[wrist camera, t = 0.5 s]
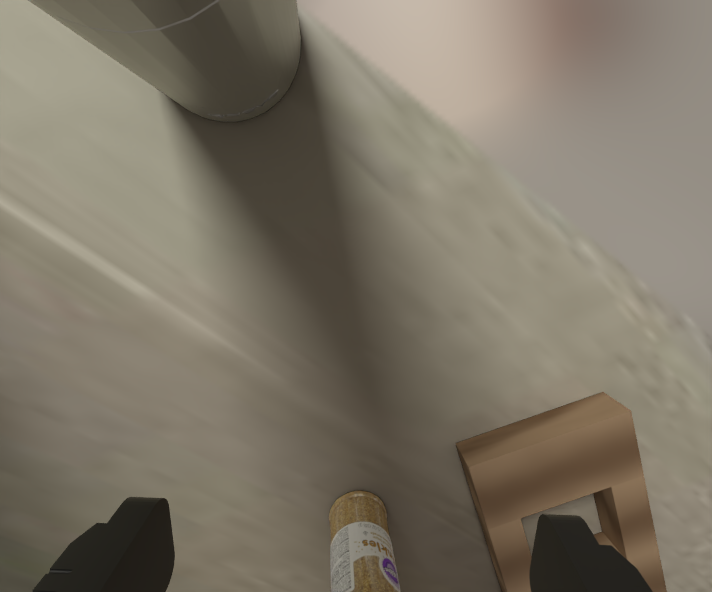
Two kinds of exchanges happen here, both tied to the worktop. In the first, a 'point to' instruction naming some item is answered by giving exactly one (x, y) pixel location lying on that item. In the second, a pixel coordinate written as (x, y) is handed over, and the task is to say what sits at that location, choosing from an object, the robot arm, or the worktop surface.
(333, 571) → the sprinkles bottle
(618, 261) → the worktop surface
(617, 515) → the walnut caddy
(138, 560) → the robot arm
